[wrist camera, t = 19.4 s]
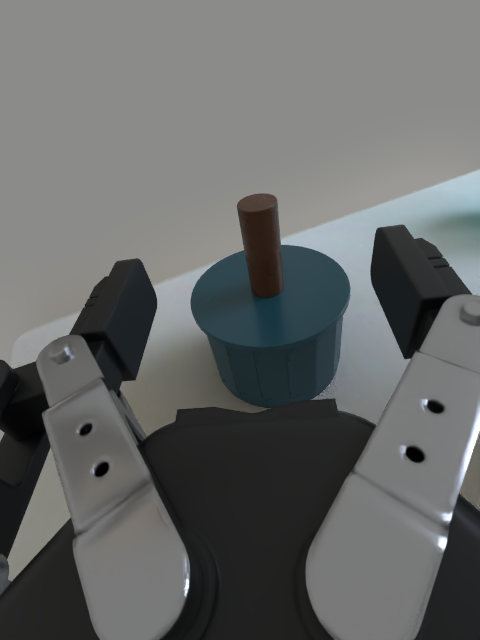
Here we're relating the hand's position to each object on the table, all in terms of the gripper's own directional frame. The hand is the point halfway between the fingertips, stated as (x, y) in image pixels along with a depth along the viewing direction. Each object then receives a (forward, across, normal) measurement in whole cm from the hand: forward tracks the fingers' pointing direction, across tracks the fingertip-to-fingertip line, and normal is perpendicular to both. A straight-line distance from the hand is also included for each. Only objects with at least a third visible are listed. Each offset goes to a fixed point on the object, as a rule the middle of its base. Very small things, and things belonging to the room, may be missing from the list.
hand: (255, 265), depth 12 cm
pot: (+11, 0, +18) cm, 21 cm away
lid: (+11, 0, +10) cm, 15 cm away
